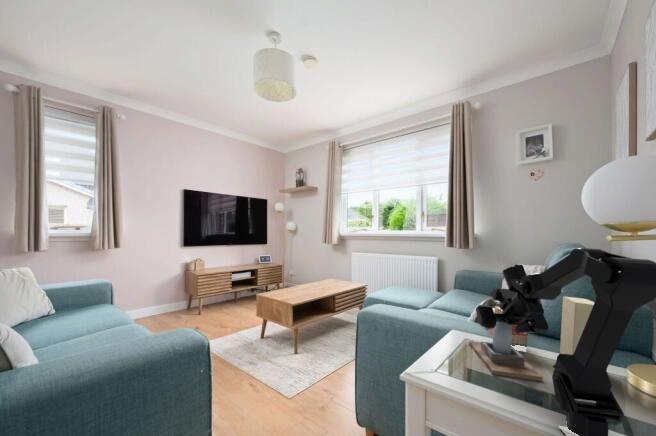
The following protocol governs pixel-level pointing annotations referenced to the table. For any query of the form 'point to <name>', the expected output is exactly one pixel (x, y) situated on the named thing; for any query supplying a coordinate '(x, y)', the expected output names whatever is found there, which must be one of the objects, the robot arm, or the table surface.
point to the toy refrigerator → (573, 322)
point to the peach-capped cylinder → (502, 338)
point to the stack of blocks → (513, 332)
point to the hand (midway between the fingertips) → (500, 329)
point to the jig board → (504, 362)
